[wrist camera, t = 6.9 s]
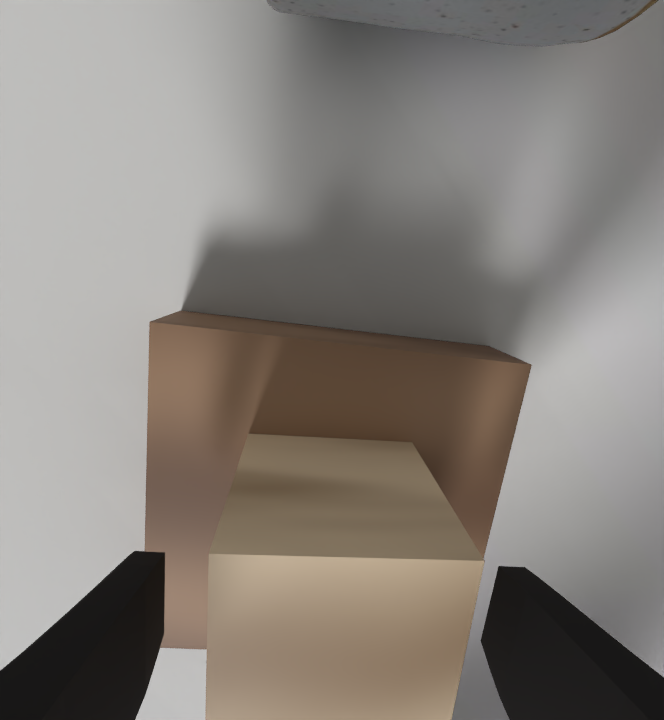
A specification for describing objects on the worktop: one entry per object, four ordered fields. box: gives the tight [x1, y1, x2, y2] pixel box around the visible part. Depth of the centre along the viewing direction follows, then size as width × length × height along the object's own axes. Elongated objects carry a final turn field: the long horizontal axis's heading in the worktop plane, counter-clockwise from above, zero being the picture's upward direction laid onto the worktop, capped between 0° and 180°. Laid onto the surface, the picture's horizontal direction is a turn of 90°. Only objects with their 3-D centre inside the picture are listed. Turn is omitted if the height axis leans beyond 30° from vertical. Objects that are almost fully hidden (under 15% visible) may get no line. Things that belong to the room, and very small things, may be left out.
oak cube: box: [206, 434, 485, 720], centre depth 9 cm, size 4×4×4 cm
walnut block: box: [145, 311, 531, 649], centre depth 13 cm, size 10×10×3 cm
